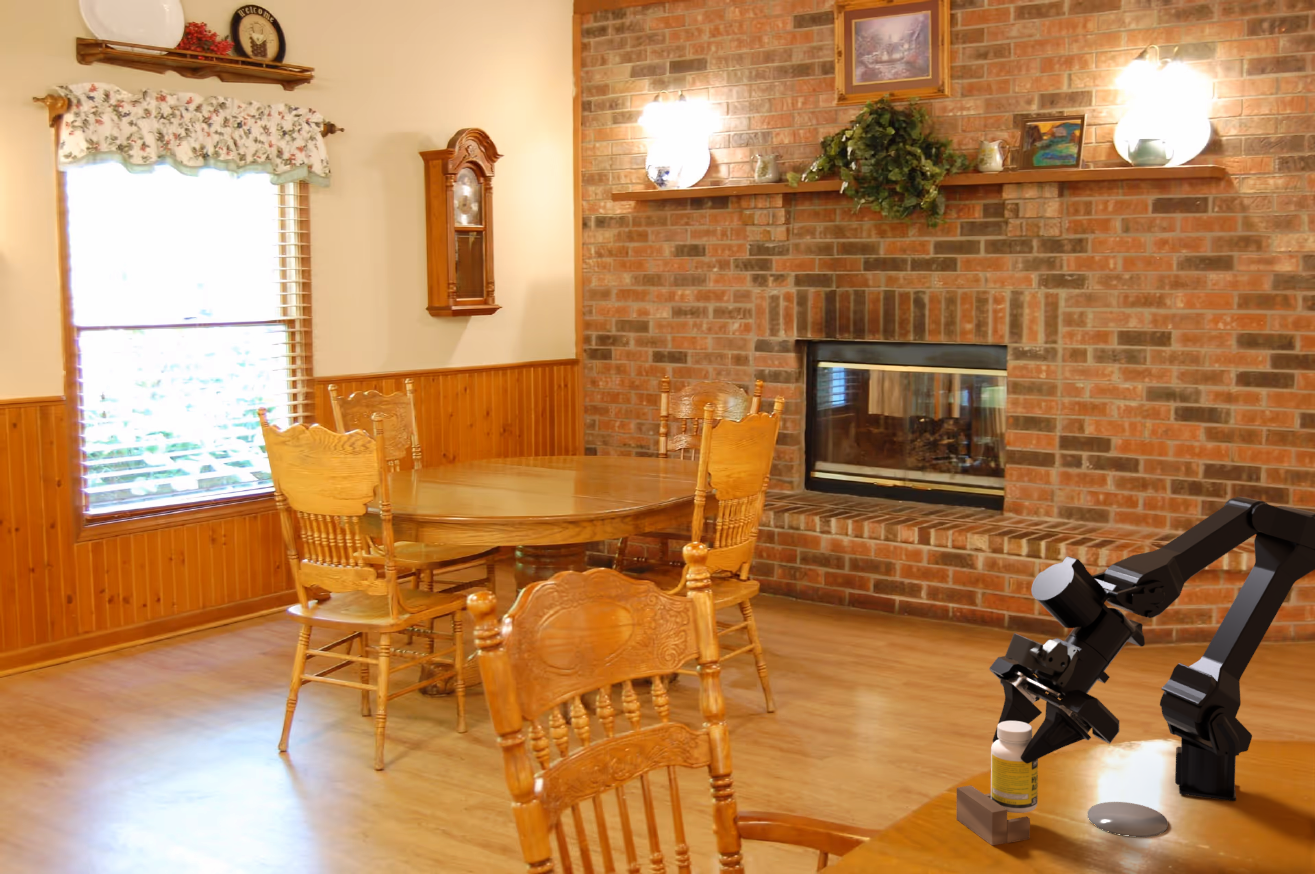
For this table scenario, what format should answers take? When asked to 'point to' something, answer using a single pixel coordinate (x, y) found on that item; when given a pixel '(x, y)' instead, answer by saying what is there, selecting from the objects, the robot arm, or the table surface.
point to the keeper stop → (989, 817)
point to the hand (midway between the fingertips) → (1009, 752)
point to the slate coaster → (1127, 819)
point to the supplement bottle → (1013, 769)
